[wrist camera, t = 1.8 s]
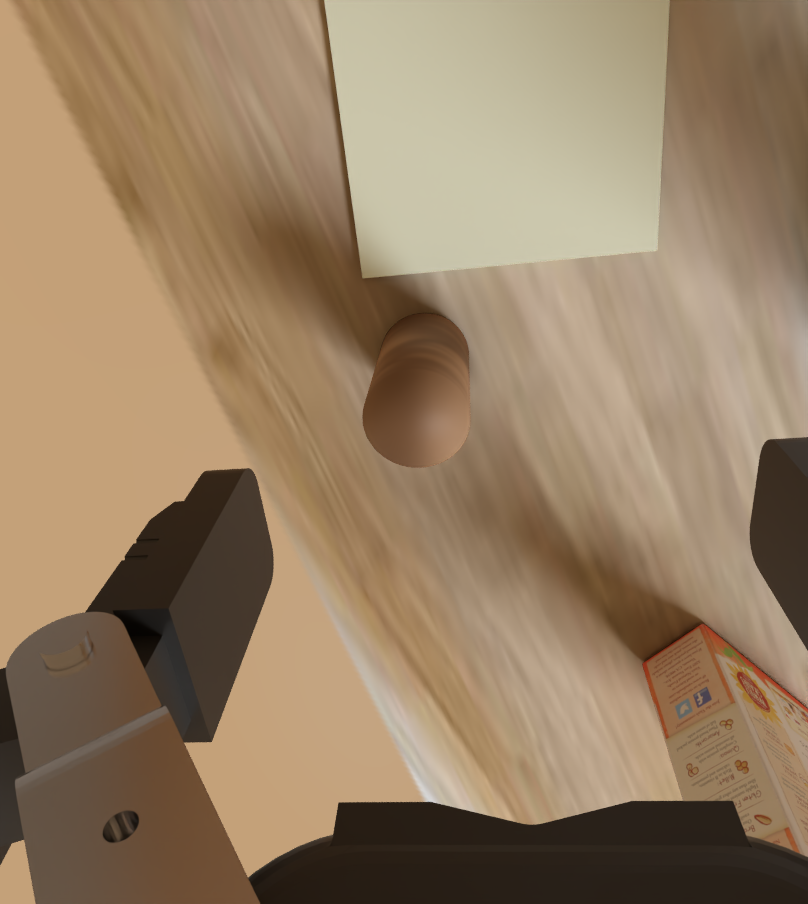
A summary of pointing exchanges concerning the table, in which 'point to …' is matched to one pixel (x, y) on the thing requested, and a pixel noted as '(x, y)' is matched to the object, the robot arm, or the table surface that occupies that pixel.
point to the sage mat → (500, 129)
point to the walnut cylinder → (419, 392)
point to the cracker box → (733, 735)
